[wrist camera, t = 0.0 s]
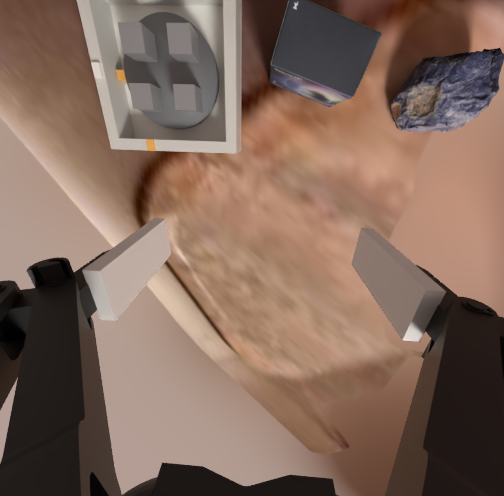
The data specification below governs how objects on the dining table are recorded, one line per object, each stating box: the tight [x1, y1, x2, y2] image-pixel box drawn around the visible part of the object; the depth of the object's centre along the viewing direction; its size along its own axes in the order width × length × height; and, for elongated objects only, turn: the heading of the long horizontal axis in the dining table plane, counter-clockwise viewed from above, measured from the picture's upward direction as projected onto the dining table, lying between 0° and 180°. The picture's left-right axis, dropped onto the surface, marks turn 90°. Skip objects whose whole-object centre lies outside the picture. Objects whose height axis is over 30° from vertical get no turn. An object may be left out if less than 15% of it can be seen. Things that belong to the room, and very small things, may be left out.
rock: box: [391, 48, 504, 133], centre depth 31 cm, size 11×10×10 cm
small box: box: [269, 0, 382, 107], centre depth 28 cm, size 11×6×10 cm, turn 72°
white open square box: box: [77, 0, 242, 153], centre depth 31 cm, size 19×19×7 cm
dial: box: [116, 12, 219, 129], centre depth 30 cm, size 13×14×6 cm
